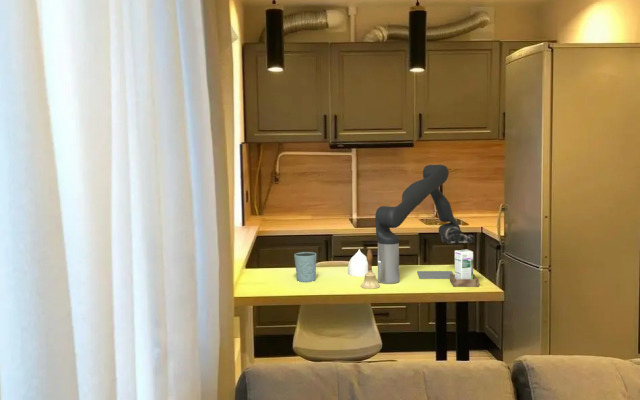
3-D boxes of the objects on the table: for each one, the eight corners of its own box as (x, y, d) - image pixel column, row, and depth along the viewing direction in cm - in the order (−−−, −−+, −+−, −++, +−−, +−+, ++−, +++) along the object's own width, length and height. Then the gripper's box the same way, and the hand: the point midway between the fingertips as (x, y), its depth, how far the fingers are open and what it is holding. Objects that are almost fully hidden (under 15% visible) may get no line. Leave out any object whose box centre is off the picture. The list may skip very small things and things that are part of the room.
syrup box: (461, 286, 234) (461, 252, 233) (454, 282, 240) (454, 249, 238) (473, 284, 236) (473, 251, 234) (466, 281, 241) (466, 248, 240)
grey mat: (419, 278, 248) (419, 277, 248) (417, 272, 260) (417, 271, 260) (455, 278, 247) (455, 277, 247) (451, 272, 259) (451, 271, 259)
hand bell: (364, 289, 231) (364, 252, 230) (357, 285, 239) (357, 248, 238) (383, 287, 233) (382, 250, 232) (375, 283, 241) (375, 247, 240)
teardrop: (372, 276, 255) (371, 250, 254) (348, 276, 255) (347, 251, 254) (370, 271, 266) (370, 246, 265) (347, 271, 266) (347, 246, 265)
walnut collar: (453, 286, 233) (453, 279, 233) (449, 280, 243) (449, 274, 243) (478, 286, 232) (478, 279, 232) (473, 280, 242) (473, 274, 242)
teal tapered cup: (314, 283, 244) (313, 256, 243) (292, 282, 246) (291, 255, 245) (319, 277, 254) (318, 252, 253) (297, 277, 256) (297, 251, 255)
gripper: (439, 227, 264) (443, 233, 248) (469, 227, 262) (476, 233, 246) (439, 243, 264) (443, 250, 248) (469, 243, 263) (476, 249, 247)
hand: (460, 241), depth 247 cm, fingers open, 8 cm apart
